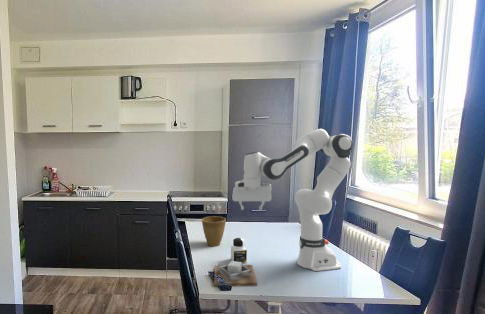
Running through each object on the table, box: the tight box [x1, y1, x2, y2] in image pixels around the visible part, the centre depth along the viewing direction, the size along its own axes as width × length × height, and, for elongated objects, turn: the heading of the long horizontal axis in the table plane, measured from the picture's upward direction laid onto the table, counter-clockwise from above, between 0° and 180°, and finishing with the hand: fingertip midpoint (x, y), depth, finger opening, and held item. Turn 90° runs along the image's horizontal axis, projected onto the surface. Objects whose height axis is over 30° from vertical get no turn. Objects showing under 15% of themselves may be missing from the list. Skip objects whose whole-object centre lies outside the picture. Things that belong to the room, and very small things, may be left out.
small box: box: [228, 260, 243, 274], centre depth 138 cm, size 6×6×5 cm
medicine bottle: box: [230, 237, 248, 264], centre depth 156 cm, size 7×7×12 cm
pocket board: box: [213, 263, 258, 287], centre depth 138 cm, size 19×19×4 cm
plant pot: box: [201, 215, 227, 247], centre depth 181 cm, size 15×15×16 cm
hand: (251, 209), depth 150 cm, fingers open, 8 cm apart
